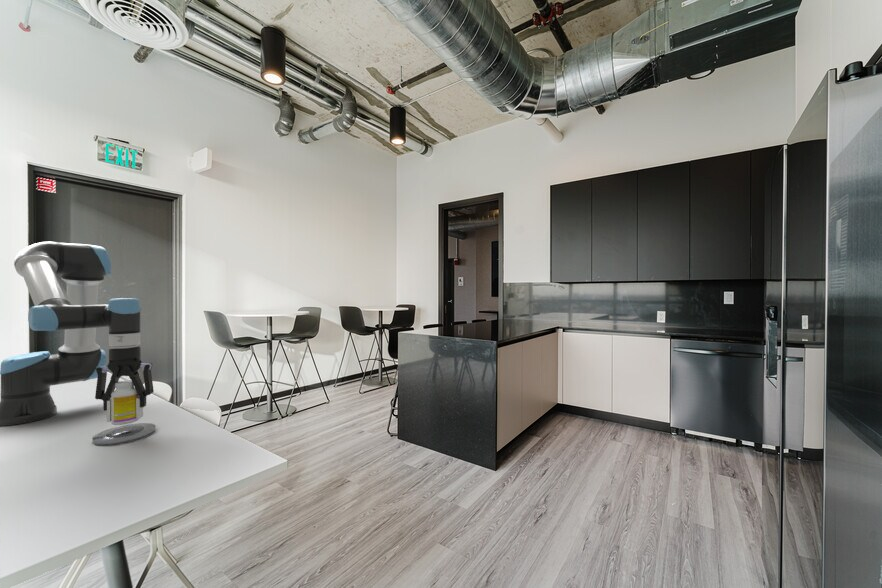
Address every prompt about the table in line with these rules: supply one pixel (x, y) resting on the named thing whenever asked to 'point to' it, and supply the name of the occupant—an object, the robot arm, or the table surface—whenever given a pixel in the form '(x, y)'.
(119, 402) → the supplement bottle
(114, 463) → the table surface
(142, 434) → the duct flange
